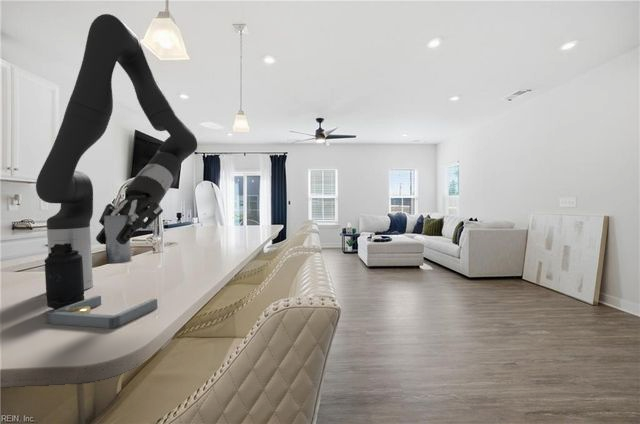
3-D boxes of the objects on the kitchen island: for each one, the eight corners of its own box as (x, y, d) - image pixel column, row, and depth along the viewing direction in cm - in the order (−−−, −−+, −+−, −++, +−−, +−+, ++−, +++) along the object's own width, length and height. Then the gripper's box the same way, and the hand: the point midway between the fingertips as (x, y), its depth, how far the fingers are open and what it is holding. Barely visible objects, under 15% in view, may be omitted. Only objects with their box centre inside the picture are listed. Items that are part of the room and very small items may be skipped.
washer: (77, 322, 61) (76, 315, 61) (61, 320, 62) (60, 313, 62) (95, 314, 65) (95, 307, 65) (80, 312, 66) (79, 305, 65)
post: (101, 263, 63) (98, 216, 63) (119, 259, 67) (116, 215, 67) (119, 264, 62) (116, 215, 62) (136, 259, 67) (133, 214, 66)
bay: (45, 323, 60) (45, 313, 60) (97, 304, 71) (96, 295, 71) (114, 328, 57) (114, 318, 57) (157, 307, 68) (157, 298, 68)
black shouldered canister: (92, 303, 72) (88, 241, 71) (66, 314, 65) (62, 245, 65) (64, 303, 72) (61, 241, 72) (36, 313, 66) (32, 245, 65)
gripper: (116, 175, 73) (68, 231, 61) (167, 173, 70) (127, 230, 59) (134, 197, 78) (94, 252, 67) (183, 196, 75) (149, 252, 64)
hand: (110, 241), depth 63 cm, fingers closed on post, 4 cm apart
